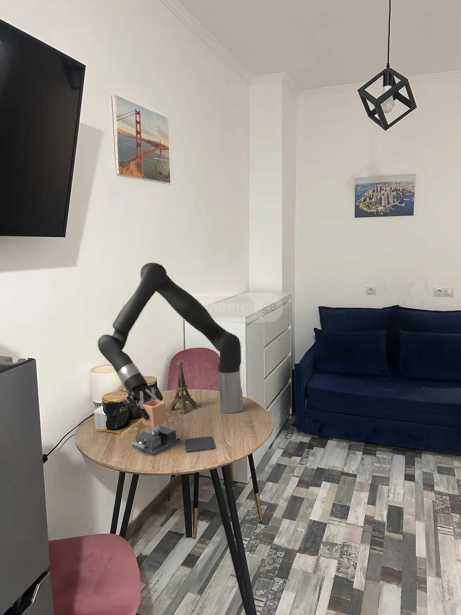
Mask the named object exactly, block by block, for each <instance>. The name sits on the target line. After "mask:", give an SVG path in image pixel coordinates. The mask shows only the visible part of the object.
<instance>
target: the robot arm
mask: <svg viewBox="0 0 461 615" xmlns="http://www.w3.org/2000/svg"><path fill="white" fill-rule="evenodd" d="M139 275H140V282H139V284H138V286H137V288H136V290H135V291H134V293H133V294H132V296H131V297H130V298H129V300H127V302H125V304H124V305H123V306H122V309H121V310H120V312H119V313H118V315H117V316H116V318H115V319H114V321H113V323H112V328H113V330H114V331H113V333H112V335H111V334H103V335H101V336H100V337H99V338H98V340H97V348H98V351H99V352H100V353H101V355H102V356H103V357H104V358H105V359H106V360H107V361H108V363H110V364H111V366H112V367H113V369H114V371H115V372H116V374H117V376H118V378H119V380H120V382H121V384H122V385H123V387H124V388H125V390H126V391H127V393H128V394H129V395H127V396H126V398H125V399H124V403H125V404H126V406H128V407H129V408H130V410H131V411H132V412H133V413H135V414H136V413H139V415H141V418H142V417H143V419H145V420H146V421H147V420H148V419H149V418H150V416H149V415H148V413H147V412H146V410H145V409H144V406H143V404H144V403H146V402H149V401H151V400H159V401H162V402H163V400H164V397H163V395H162V392H161V390H160V388H159V387H158V386H157V385H155V386H154V387H150V386H149V385H148V382H147V380H146V378H145V377H144V376H143V374H142V372H141V371H140V369H139V368H138V367H137V366H136V365H135V363H134V362H133V360H132V359H131V357H130V356H129V355H128V354H127V352H124V351H123V349H124V348H125V346H126V343H127V341H128V338H129V334H130V332H131V330H132V329H133V327H134V325H135V323H136V322H137V320H138V319H139V317H140V316H141V314H142V312H143V310H145V307H146V305H147V304H148V303H149V301H150V300H151V299H152V297H153V296H154V295H155V294H156V293H158V294H159V295H160V296H161V297H162V298H163V299H164V300H165V301H166V302H167V303H168V304H169V306H170V307H171V308H172V309H173V310H174V311H175V312H176V313H177V314H178V315H179V317H181V318H182V319H183V320H184V321H185V322H186V323H188V324H189V325H190V326H192V327H193V328H194V329H196V330H197V331H198V332H199V333H201V334H202V335H204V337H205V338H206V339H207V340H208V341H209V342H210V343H211V345H212V346H213V347H214V348H215V349H216V351H218V352H219V363H218V364H217V376H218V388H219V391H218V392H219V404H220V405H219V407H220V411H221V413H225V414H234V413H239V412H243V411H244V399H243V388H242V381H241V364H242V346H241V342H240V341H241V340H240V339H239V337H238V336H237V335H235V334H233V333H231V332H230V331H228V330H226V329H224V328H223V327H222V326H221V325H219V323H217V322H216V321H215V320H214V319H213V317H212V315H211V314H210V313H209V311H208V310H207V309H206V307H205V306H204V305H203V304H202V303H201V302H200V301H199V300H198V299H196V297H194V296H193V295H192V294H191V293H189V292H188V291H187V290H185V289H183V288H182V287H181V286H180V285H178V284H176V283H175V281H173V279H172V278H170V276H169V275H168V274H167V270H166V268H165V267H164V266H163V265H162V264H161V263H157V262H147V263H145V264H144V265H142V267H141V268H140V274H139Z"/></svg>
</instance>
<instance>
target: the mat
mask: <svg viewBox="0 0 461 615" xmlns="http://www.w3.org/2000/svg"><path fill="white" fill-rule="evenodd" d="M215 446H216V445H215V442H214V439H213V436H212V435H209V436H201V437H193V438H184V447H185V453H186V454H187V453H195V452H203V451H211V450H216V447H215Z"/></svg>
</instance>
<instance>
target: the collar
mask: <svg viewBox="0 0 461 615" xmlns="http://www.w3.org/2000/svg"><path fill="white" fill-rule="evenodd" d="M143 406H144V409H145V410H146V412H147V413H148V415H149V416H150V418H149V419H148V420H147V421H146V420H145V419H143V417H142V416H141V419H142V420H141V421H142V424H144V425H146V426H149V427H151V426H152V427H155V426H158V425H162V424H164V423H166V422H168V414H167V413H168V411H166V410H167V403H166V402H165V401H163V400H162V401H159V400H151V401H149V402H144V403H143Z"/></svg>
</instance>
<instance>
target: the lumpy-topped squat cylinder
mask: <svg viewBox="0 0 461 615" xmlns="http://www.w3.org/2000/svg"><path fill="white" fill-rule="evenodd" d="M93 417H94V427H95V429H96V430H98V429H107V427H106V421H107V416H106V414H105V413H104V411H103V406H102V404H101V405H100V406H99V407H97V408H95V409H94V411H93Z"/></svg>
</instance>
